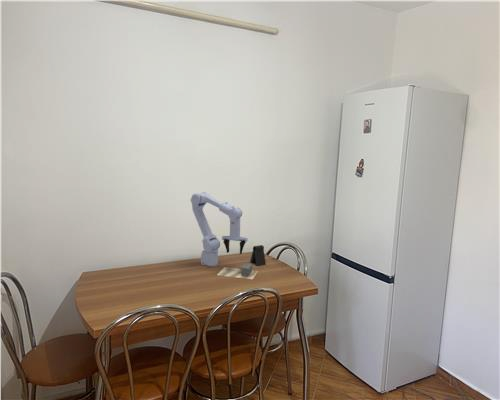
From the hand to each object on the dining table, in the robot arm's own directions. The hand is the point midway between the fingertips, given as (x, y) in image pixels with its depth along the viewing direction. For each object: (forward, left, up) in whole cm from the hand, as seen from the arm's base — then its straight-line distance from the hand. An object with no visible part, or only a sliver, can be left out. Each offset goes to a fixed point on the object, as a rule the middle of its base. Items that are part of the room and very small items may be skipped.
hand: (234, 252), depth 207 cm
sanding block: (+9, -6, -9) cm, 14 cm away
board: (+4, -6, -10) cm, 13 cm away
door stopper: (+11, +14, -11) cm, 21 cm away
